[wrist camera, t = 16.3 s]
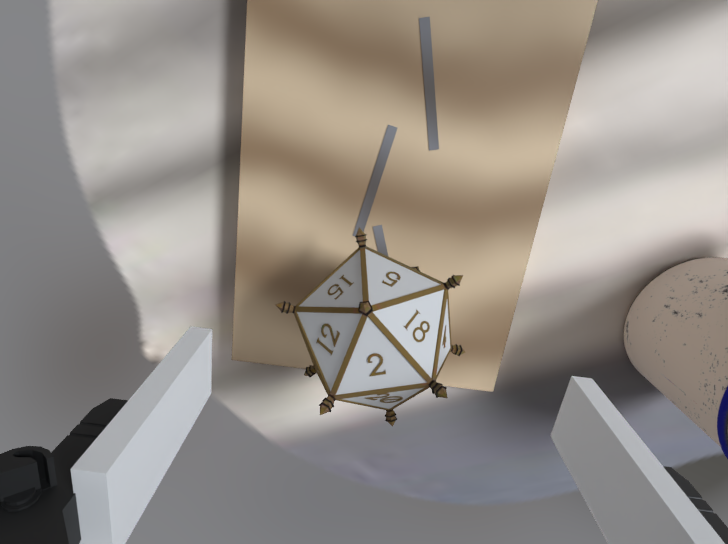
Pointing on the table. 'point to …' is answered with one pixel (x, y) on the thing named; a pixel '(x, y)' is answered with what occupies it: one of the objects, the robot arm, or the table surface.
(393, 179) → the board
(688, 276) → the teacup with lid
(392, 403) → the game die
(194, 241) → the table surface
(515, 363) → the table surface
